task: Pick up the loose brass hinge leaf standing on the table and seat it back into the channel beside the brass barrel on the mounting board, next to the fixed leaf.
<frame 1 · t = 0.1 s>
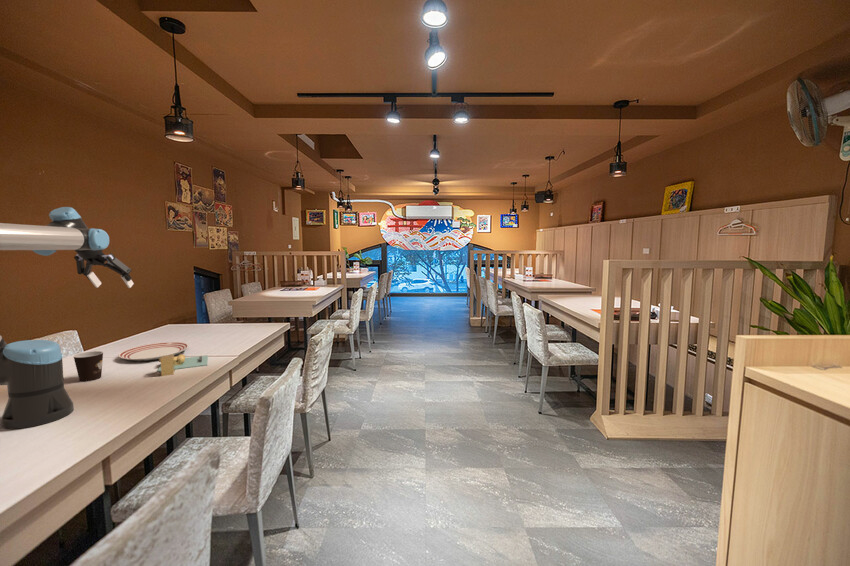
hand: (115, 285, 155), 36 cm above the table, tool tilted 35°, fingers open, 13 cm apart
dinner plate: (155, 356, 177), on the table
hinge base: (192, 362, 166), on the table
brass leaf: (168, 373, 151), on the table
coffee mug: (94, 377, 146), on the table
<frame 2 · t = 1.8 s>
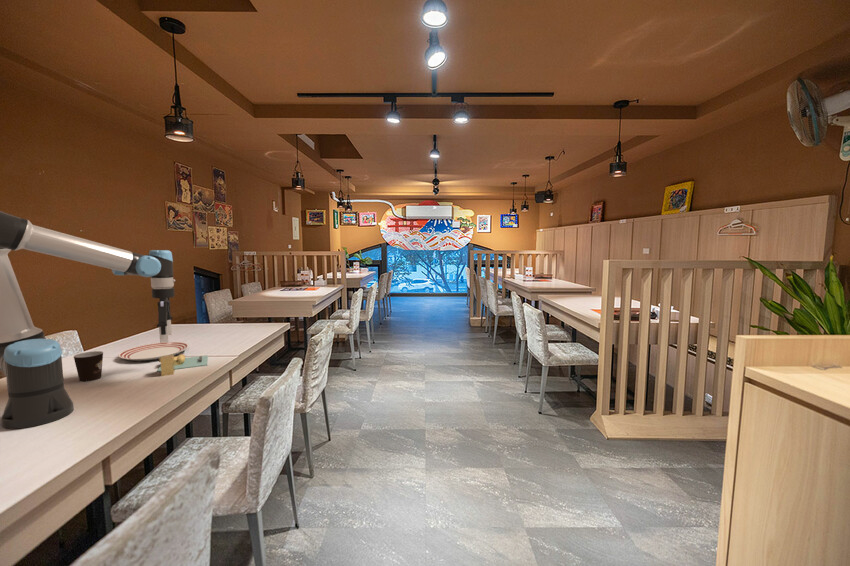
hand: (166, 338, 150), 15 cm above the table, tool pointing down, fingers open, 13 cm apart
nothing on the table moved.
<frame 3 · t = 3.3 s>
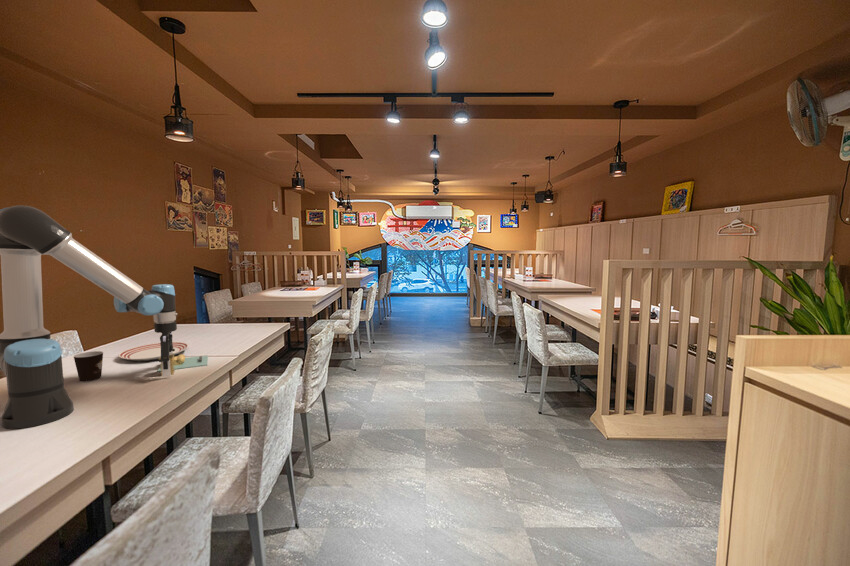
hand: (168, 371, 151), 1 cm above the table, tool pointing down, fingers open, 13 cm apart
nothing on the table moved.
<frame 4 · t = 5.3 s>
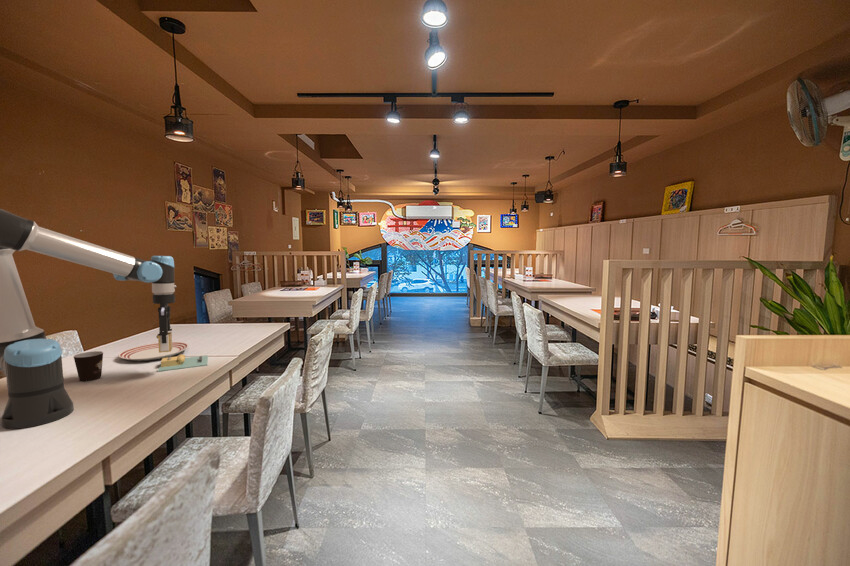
hand: (165, 348, 150), 11 cm above the table, tool pointing down, fingers closed on brass leaf, 6 cm apart
brass leaf: (165, 350, 150), point 10 cm above the table, touching gripper
everything else where it was.
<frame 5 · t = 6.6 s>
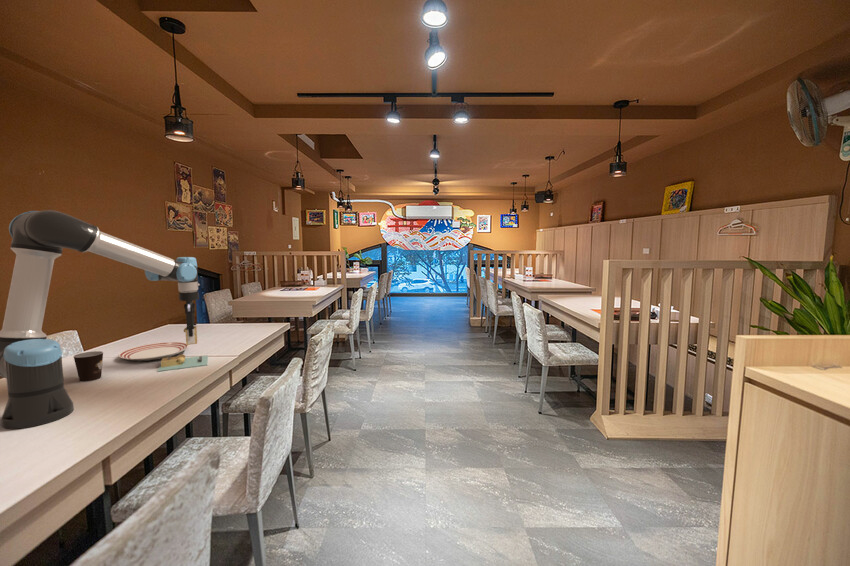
hand: (191, 341, 165), 10 cm above the table, tool pointing down, fingers closed on brass leaf, 6 cm apart
brass leaf: (192, 342, 165), point 9 cm above the table, touching gripper
everything else where it was.
when the fingers open (1 cm above the table, at t = 8.1 s): brass leaf stays where it is, resting on hinge base.
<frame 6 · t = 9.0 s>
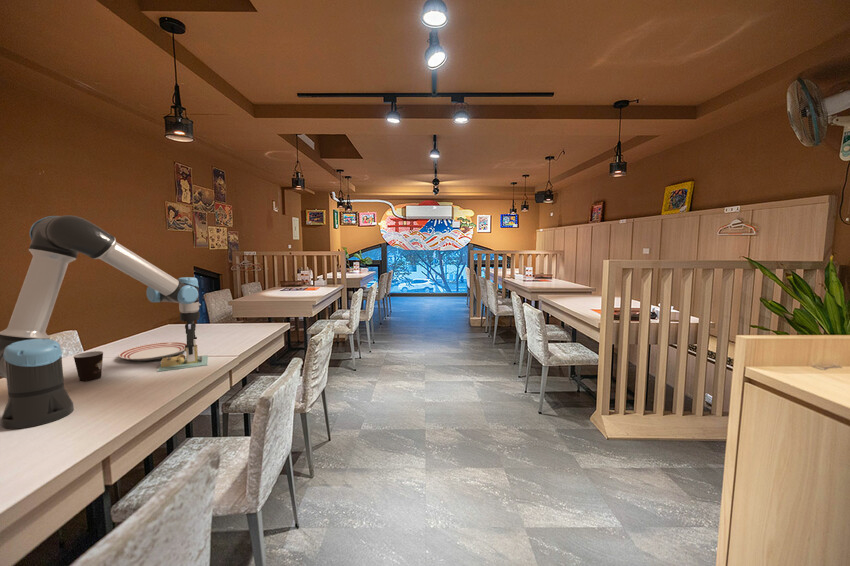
hand: (192, 357, 165), 2 cm above the table, tool pointing down, fingers open, 13 cm apart
brass leaf: (192, 361, 166), resting on hinge base
everything else where it was.
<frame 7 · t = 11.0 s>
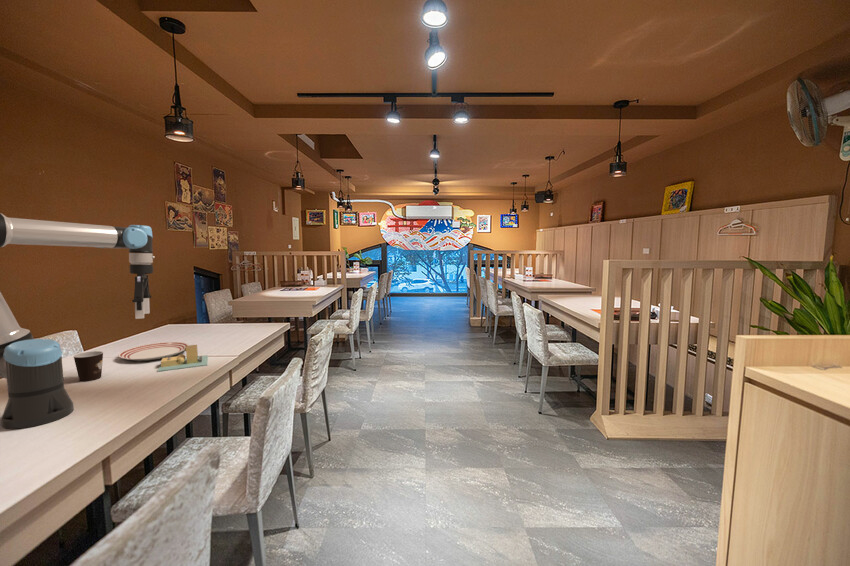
hand: (142, 316, 147), 24 cm above the table, tool pointing down, fingers open, 13 cm apart
nothing on the table moved.
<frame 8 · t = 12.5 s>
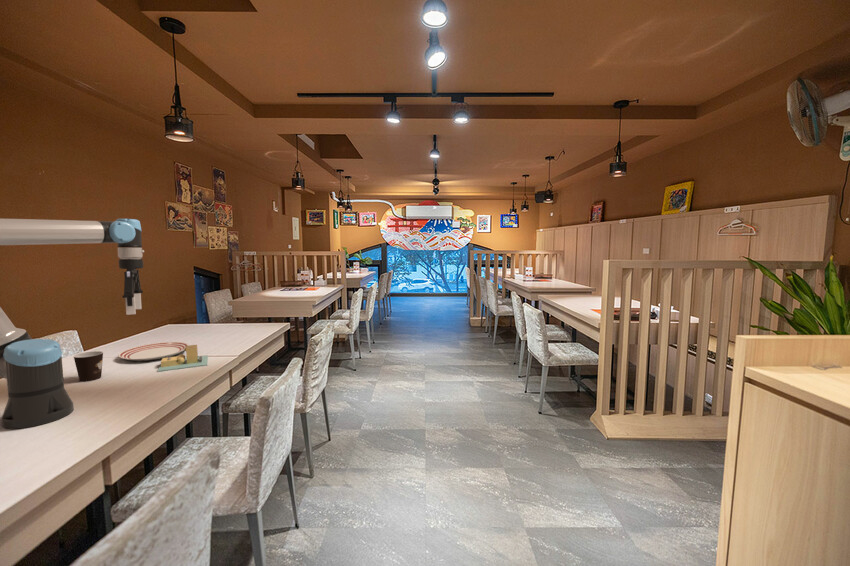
hand: (134, 311, 145), 27 cm above the table, tool pointing down, fingers open, 13 cm apart
nothing on the table moved.
at the end: brass leaf 0.1 cm off-centre on the hinge base, point 0.4 cm above the hinge base's base; brass leaf tilted 0°; the gripper is holding nothing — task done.
